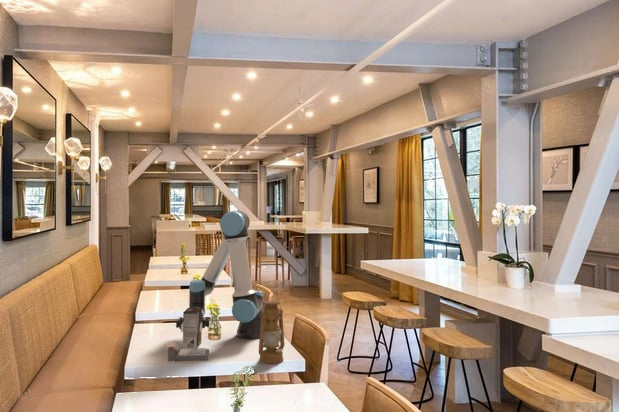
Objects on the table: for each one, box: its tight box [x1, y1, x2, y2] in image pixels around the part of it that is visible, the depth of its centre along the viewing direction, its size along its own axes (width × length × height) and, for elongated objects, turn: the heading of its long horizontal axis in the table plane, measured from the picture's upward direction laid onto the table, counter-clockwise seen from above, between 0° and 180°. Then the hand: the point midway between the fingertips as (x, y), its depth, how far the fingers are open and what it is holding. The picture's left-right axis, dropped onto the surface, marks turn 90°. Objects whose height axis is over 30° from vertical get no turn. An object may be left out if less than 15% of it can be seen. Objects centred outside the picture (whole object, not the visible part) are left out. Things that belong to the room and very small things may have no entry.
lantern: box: [258, 290, 285, 365], centre depth 218 cm, size 15×10×30 cm
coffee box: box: [182, 307, 202, 349], centre depth 222 cm, size 9×6×16 cm
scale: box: [165, 341, 210, 363], centre depth 222 cm, size 18×10×8 cm, turn 98°
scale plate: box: [179, 347, 207, 356], centre depth 222 cm, size 11×9×1 cm
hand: (191, 328), depth 217 cm, fingers closed on coffee box, 7 cm apart
